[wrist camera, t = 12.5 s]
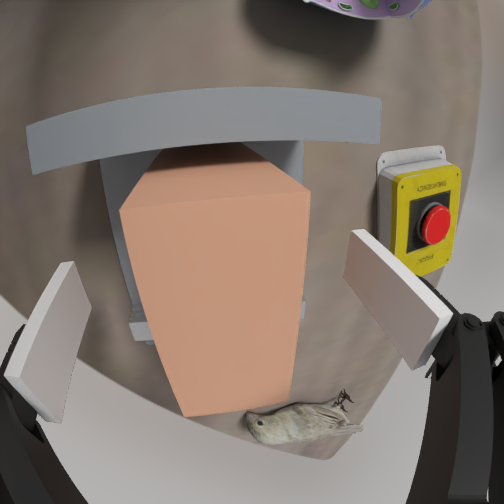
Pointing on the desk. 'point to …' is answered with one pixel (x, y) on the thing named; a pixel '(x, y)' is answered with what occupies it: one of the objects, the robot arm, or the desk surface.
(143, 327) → the strip
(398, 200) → the emergency button
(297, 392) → the desk surface
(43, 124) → the gray bracket stand
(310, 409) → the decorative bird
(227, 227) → the cabinet block
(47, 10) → the desk surface
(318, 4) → the cell model
